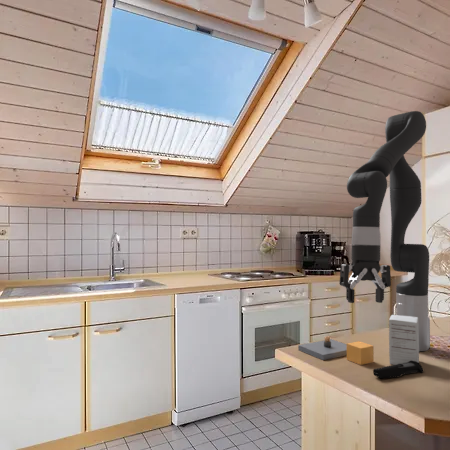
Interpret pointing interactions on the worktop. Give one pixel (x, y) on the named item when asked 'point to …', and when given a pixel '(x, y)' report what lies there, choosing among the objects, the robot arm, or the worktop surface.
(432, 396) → the worktop surface
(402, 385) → the worktop surface
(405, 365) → the electric trimmer
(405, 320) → the supplement box
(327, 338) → the plate
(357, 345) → the orange rounded cube
